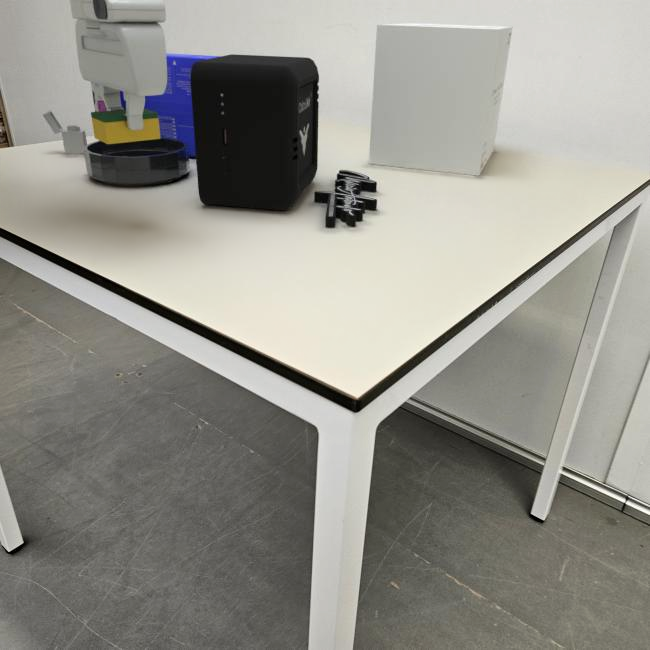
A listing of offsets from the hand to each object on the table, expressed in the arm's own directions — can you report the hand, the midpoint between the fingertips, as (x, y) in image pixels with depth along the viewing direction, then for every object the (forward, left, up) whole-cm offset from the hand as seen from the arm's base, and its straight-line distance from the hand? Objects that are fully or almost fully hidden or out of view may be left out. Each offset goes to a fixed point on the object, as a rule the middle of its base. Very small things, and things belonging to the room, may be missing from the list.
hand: (125, 125), depth 77 cm
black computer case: (+22, +3, -13) cm, 26 cm away
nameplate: (+31, -7, -13) cm, 35 cm away
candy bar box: (+12, +43, -13) cm, 47 cm away
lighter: (+5, +49, -13) cm, 51 cm away
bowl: (+10, +25, -13) cm, 30 cm away
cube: (+67, +8, -13) cm, 69 cm away
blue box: (+27, +36, -13) cm, 47 cm away
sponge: (0, 0, -2) cm, 2 cm away
